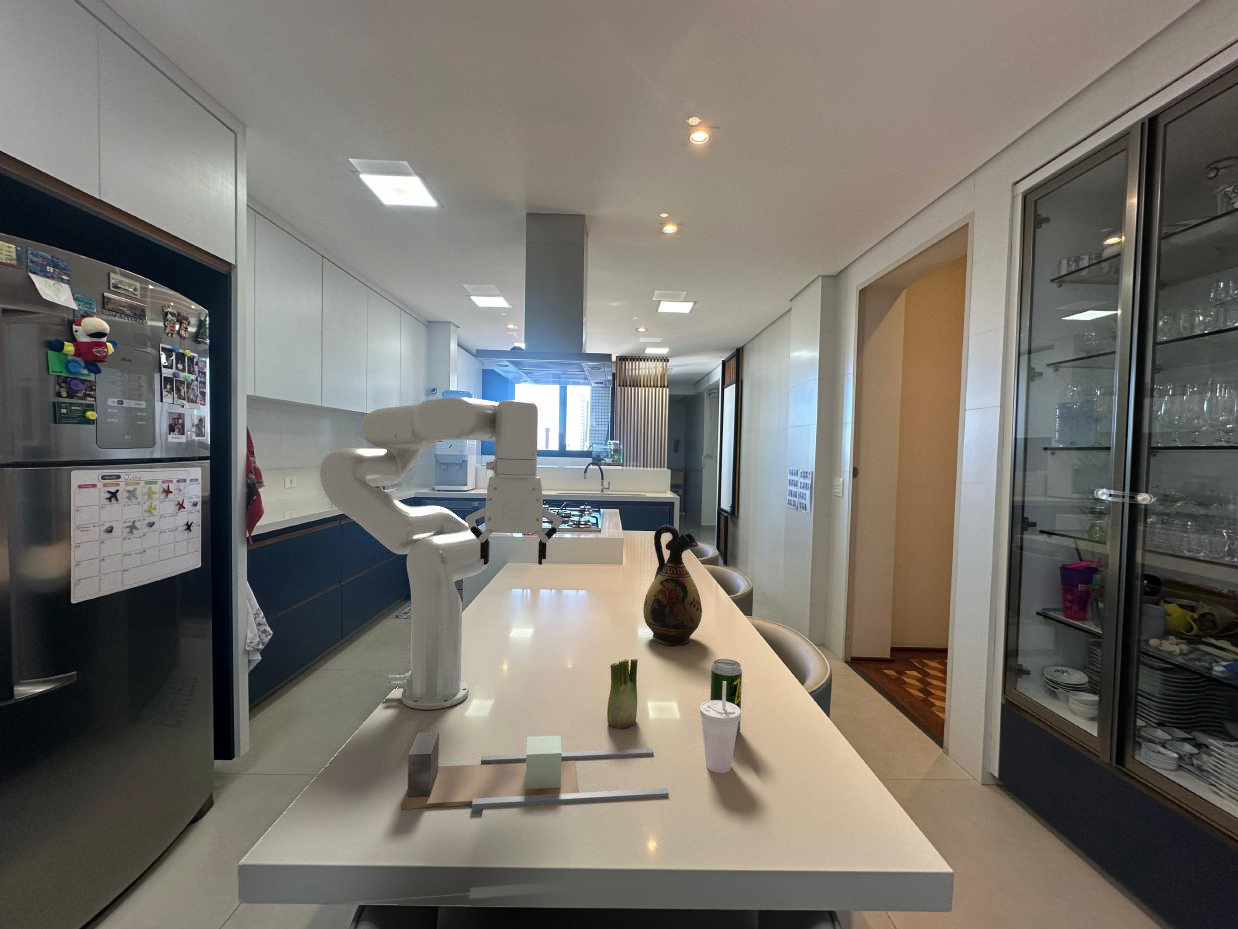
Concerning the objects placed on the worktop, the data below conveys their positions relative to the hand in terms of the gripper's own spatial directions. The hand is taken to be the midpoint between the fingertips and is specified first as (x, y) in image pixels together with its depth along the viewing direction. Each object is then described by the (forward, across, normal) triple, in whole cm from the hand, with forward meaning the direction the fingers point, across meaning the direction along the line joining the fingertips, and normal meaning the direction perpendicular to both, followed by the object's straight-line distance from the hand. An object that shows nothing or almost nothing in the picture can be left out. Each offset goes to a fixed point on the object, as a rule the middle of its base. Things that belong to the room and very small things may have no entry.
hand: (513, 563), depth 102 cm
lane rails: (+28, +10, -21) cm, 37 cm away
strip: (+28, -1, -21) cm, 35 cm away
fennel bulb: (+29, +20, -5) cm, 35 cm away
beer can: (+28, +38, -8) cm, 48 cm away
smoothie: (+28, +33, -20) cm, 48 cm away
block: (+28, +6, -21) cm, 35 cm away
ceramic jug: (+28, +39, +41) cm, 63 cm away
